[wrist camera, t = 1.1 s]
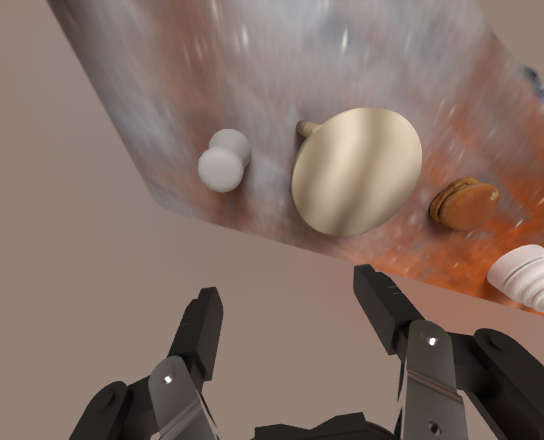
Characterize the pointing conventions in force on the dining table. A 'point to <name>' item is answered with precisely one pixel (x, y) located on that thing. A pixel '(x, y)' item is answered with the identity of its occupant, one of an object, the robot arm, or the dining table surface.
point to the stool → (355, 170)
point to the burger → (465, 204)
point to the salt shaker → (224, 160)
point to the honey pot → (521, 276)
